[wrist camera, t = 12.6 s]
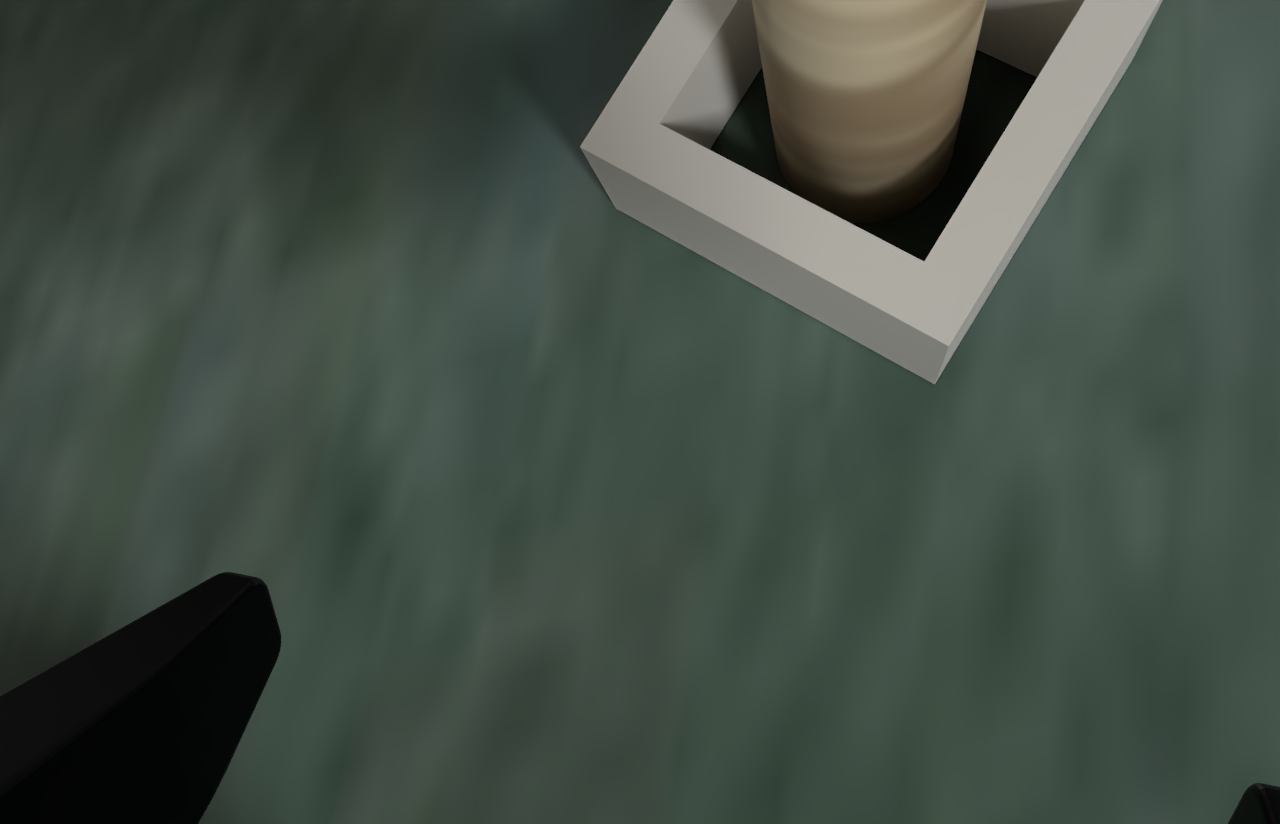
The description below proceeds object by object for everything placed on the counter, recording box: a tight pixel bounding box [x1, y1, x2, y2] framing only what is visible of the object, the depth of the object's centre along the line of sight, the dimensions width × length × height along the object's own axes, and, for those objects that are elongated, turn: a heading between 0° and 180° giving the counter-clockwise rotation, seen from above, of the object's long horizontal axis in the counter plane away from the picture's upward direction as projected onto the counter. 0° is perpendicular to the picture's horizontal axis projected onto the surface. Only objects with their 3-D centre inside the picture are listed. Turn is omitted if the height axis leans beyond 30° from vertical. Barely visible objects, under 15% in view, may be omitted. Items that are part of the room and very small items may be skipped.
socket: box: [580, 0, 1163, 384], centre depth 23 cm, size 8×8×4 cm
